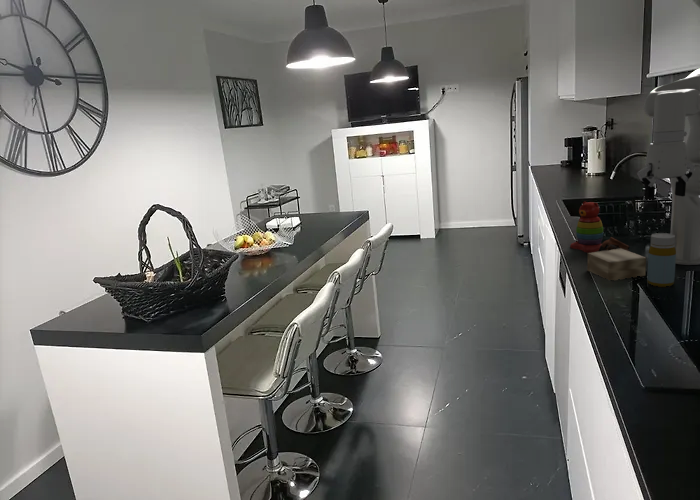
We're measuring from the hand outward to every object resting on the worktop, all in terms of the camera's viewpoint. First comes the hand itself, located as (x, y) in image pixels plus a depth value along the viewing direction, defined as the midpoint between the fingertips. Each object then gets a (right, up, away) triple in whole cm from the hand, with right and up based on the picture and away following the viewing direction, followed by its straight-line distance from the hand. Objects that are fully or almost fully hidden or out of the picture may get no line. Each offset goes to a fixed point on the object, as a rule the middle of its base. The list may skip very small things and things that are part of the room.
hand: (664, 197), depth 151 cm
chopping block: (-4, -23, +19) cm, 30 cm away
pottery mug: (+2, -18, +35) cm, 39 cm away
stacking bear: (0, -15, +48) cm, 51 cm away
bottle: (+3, -25, +7) cm, 27 cm away
